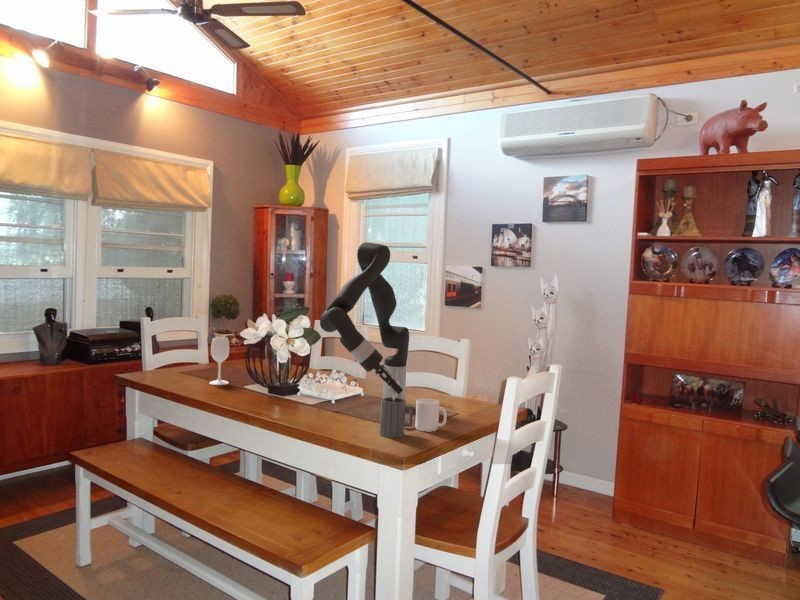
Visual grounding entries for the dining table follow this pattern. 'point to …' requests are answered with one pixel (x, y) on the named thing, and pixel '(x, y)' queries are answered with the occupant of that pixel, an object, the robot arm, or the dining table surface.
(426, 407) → the cup
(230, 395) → the dining table surface
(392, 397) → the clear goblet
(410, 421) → the gray tankard
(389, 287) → the robot arm
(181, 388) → the dining table surface
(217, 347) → the wineglass
